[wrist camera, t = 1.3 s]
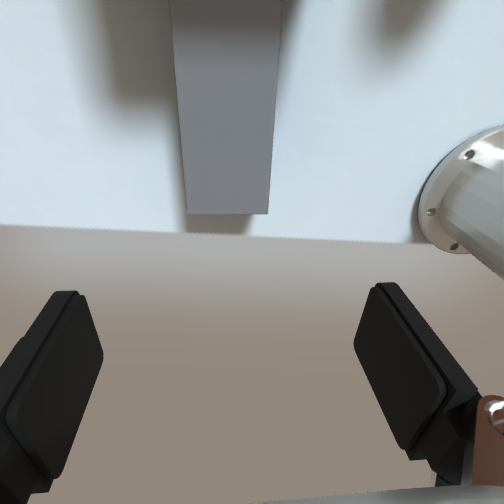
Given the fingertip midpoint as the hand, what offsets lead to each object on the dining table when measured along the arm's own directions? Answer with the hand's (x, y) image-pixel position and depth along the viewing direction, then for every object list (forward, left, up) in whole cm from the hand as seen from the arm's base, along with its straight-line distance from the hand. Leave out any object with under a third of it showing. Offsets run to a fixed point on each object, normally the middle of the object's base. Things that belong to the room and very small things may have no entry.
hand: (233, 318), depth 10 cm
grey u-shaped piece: (+3, -3, -19) cm, 19 cm away
